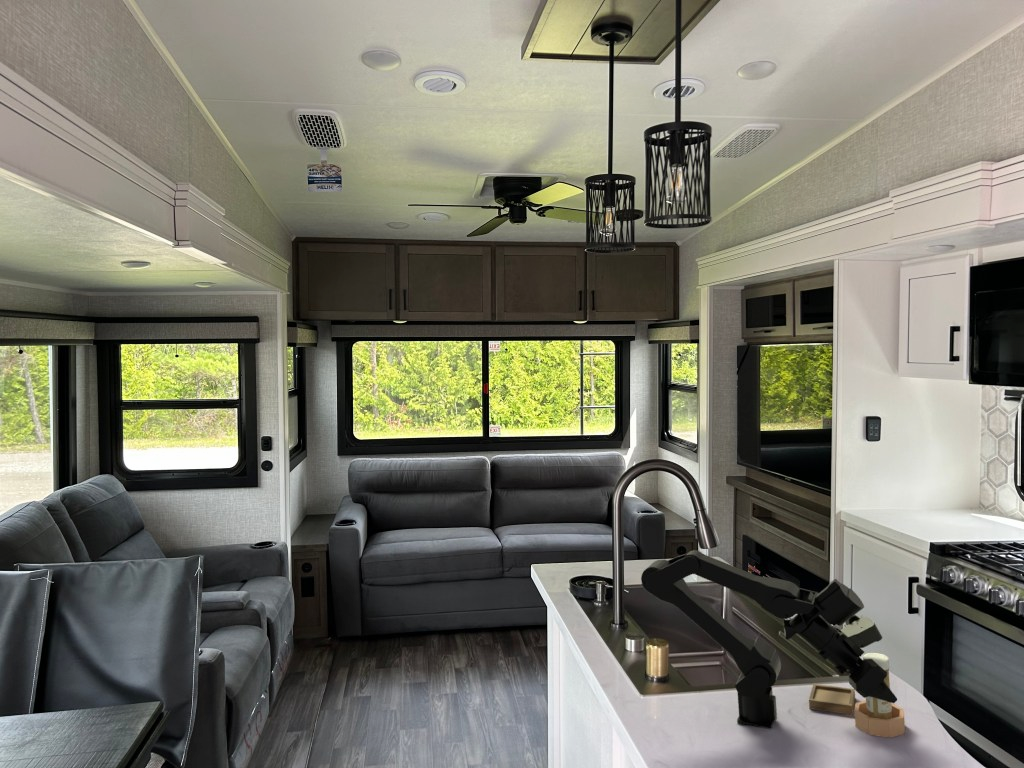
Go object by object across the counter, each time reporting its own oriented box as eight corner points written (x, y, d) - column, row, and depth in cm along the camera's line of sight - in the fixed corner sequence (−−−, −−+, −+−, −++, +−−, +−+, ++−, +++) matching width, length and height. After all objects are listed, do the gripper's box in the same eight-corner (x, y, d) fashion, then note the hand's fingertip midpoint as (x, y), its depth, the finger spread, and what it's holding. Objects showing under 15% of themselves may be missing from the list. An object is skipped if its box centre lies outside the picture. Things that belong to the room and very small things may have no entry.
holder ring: (854, 732, 141) (853, 716, 141) (857, 712, 149) (856, 697, 149) (904, 739, 137) (903, 723, 137) (904, 719, 145) (903, 704, 145)
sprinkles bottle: (892, 733, 140) (888, 662, 140) (865, 729, 142) (861, 659, 142) (893, 722, 144) (889, 653, 144) (867, 718, 146) (863, 650, 146)
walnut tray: (809, 708, 152) (808, 699, 152) (813, 692, 159) (813, 683, 159) (852, 714, 148) (852, 705, 148) (855, 697, 155) (854, 689, 155)
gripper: (872, 623, 133) (939, 681, 133) (833, 591, 152) (891, 642, 152) (830, 668, 134) (896, 726, 134) (796, 631, 153) (854, 682, 152)
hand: (885, 691), depth 143 cm, fingers open, 8 cm apart
